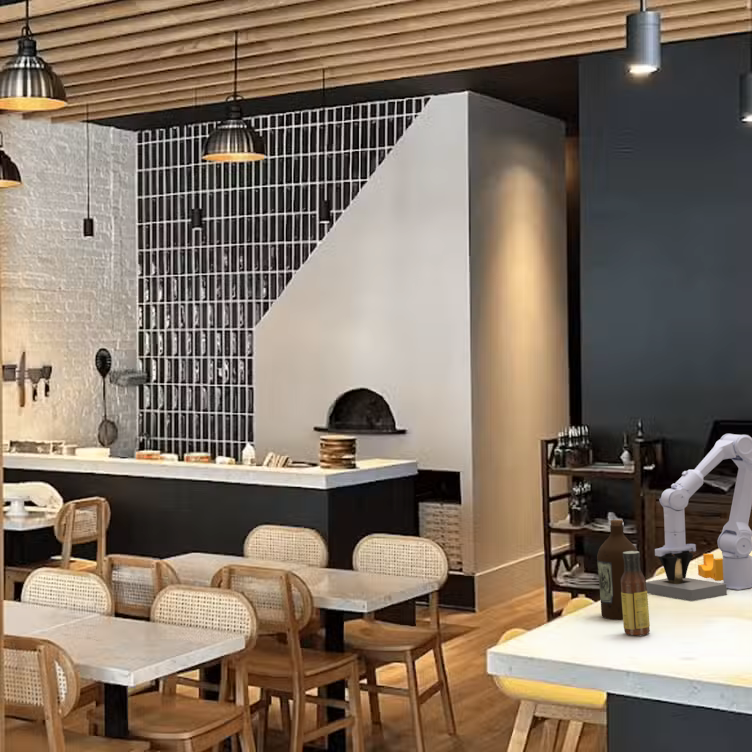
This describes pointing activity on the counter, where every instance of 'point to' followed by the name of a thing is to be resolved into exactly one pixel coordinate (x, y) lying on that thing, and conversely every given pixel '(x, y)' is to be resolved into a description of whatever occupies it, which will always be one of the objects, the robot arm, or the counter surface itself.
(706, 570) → the pipe clamp
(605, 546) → the olive oil
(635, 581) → the sauce bottle
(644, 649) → the counter surface
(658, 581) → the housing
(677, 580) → the pin
